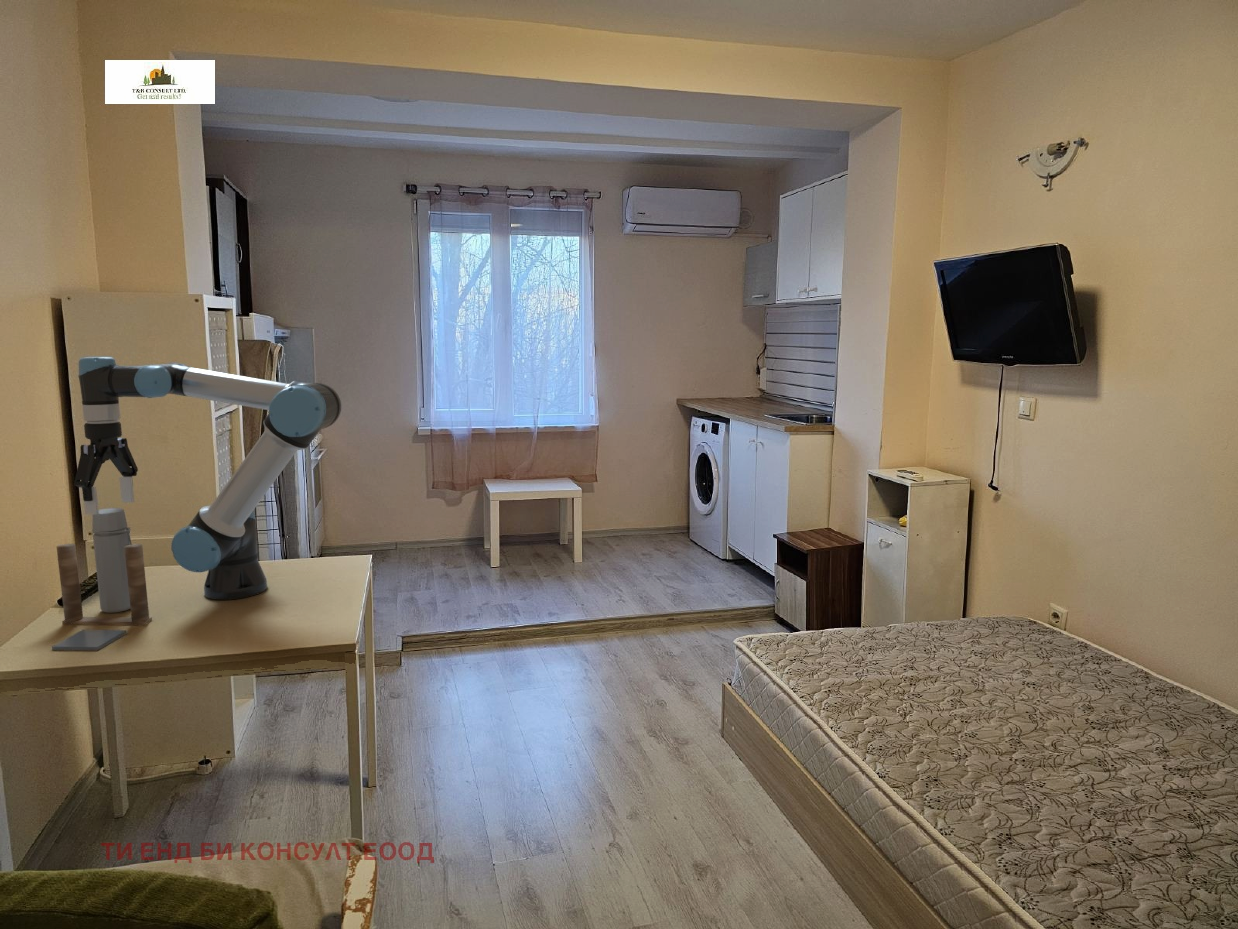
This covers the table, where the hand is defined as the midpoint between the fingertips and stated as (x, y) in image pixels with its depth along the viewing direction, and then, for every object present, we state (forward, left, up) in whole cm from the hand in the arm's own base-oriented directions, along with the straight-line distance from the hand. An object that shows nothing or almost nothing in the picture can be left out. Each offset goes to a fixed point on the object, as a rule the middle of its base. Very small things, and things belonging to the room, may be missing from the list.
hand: (110, 508), depth 196 cm
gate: (-3, +10, -26) cm, 28 cm away
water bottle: (0, 0, -26) cm, 26 cm away
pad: (-7, +22, -26) cm, 34 cm away
